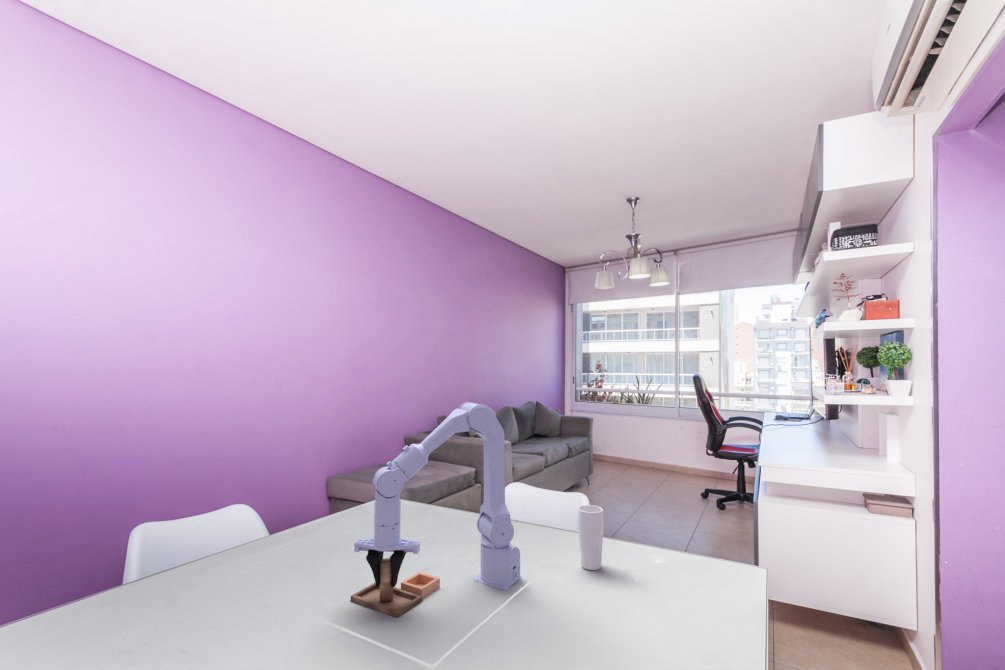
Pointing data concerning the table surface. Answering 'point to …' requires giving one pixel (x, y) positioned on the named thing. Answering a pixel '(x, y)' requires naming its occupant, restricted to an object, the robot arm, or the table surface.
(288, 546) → the table surface
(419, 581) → the open box
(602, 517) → the drinking glass
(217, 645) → the table surface
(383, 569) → the dowel
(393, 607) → the tray
